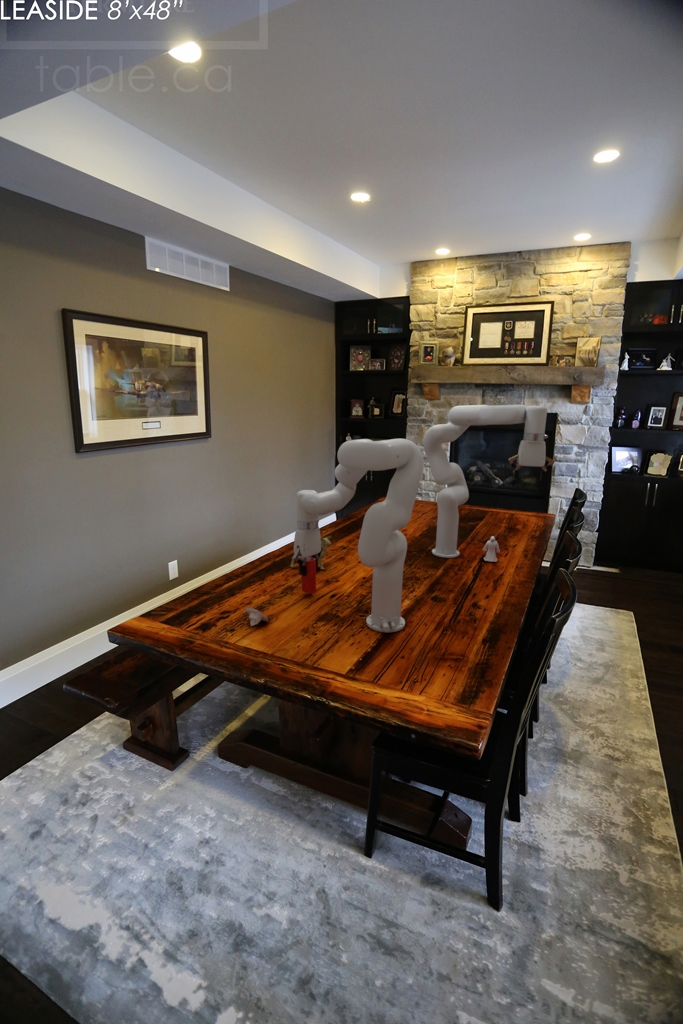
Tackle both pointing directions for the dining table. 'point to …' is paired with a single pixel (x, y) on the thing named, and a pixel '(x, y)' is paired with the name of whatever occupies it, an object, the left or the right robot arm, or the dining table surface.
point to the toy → (324, 544)
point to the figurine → (491, 550)
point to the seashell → (255, 616)
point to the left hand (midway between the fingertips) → (308, 572)
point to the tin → (309, 576)
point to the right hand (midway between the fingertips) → (528, 480)
